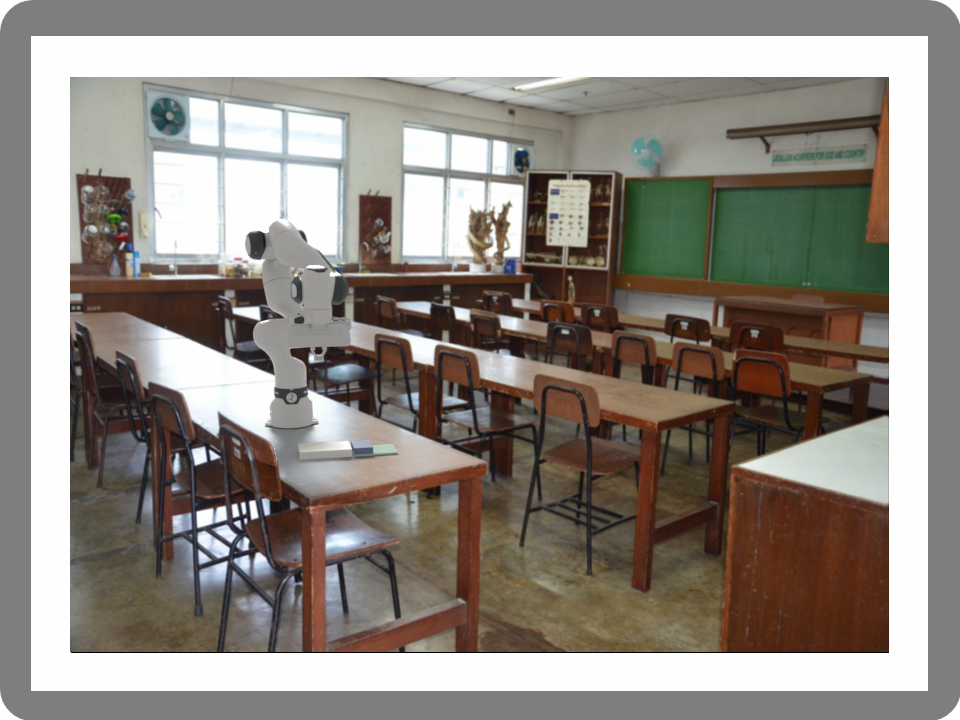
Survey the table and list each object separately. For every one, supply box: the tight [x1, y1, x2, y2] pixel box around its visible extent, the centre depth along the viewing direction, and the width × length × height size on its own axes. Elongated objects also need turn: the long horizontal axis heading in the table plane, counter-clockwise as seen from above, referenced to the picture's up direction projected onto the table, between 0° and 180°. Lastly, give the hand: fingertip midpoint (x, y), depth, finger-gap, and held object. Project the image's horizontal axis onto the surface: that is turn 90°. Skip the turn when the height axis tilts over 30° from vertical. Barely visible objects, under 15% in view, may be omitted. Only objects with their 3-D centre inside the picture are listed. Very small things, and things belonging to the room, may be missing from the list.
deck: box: [297, 440, 353, 461], centre depth 249 cm, size 10×16×2 cm, turn 105°
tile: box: [350, 439, 373, 454], centre depth 252 cm, size 9×6×2 cm, turn 15°
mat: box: [352, 443, 399, 458], centre depth 253 cm, size 10×14×1 cm
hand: (318, 360), depth 250 cm, fingers closed
